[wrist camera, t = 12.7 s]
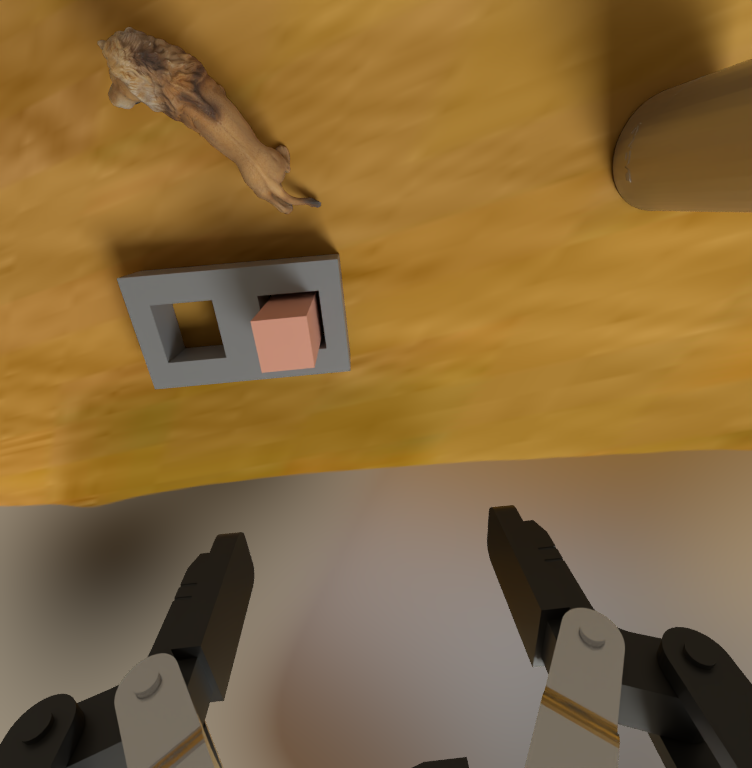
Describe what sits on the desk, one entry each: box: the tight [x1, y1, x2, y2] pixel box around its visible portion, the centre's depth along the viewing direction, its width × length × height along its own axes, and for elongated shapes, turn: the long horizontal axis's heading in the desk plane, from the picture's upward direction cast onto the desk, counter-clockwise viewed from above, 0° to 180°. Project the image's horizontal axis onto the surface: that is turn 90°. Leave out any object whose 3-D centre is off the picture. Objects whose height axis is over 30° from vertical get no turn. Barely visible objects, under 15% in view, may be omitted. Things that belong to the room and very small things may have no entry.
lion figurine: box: [98, 27, 321, 214], centre depth 28 cm, size 15×5×9 cm, turn 54°
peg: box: [250, 291, 323, 373], centre depth 33 cm, size 4×4×10 cm
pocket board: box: [117, 254, 350, 389], centre depth 36 cm, size 18×10×4 cm, turn 94°
